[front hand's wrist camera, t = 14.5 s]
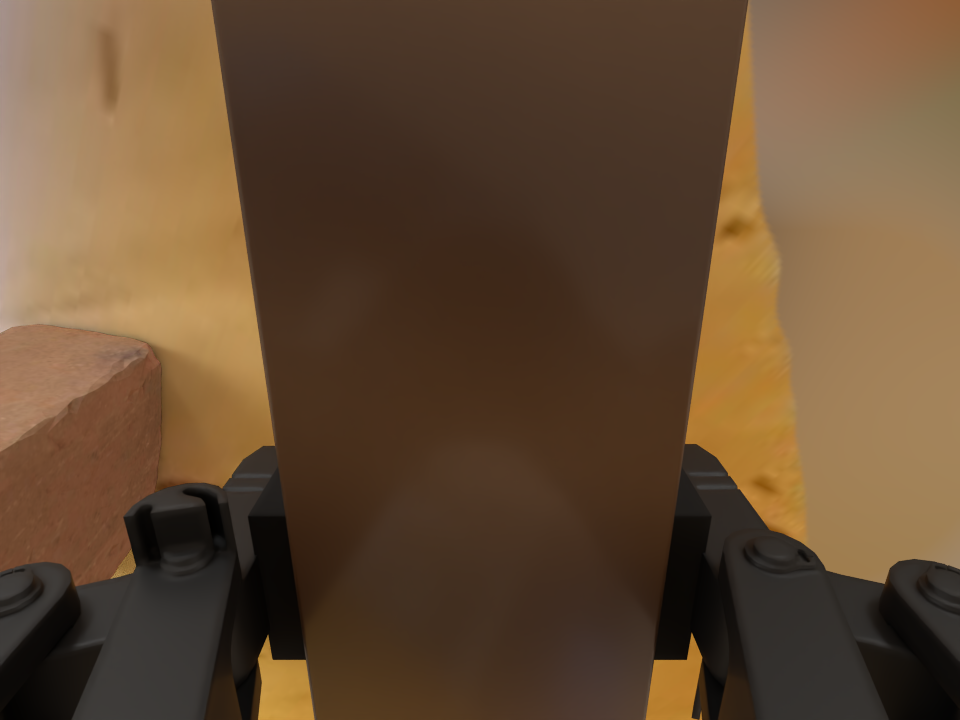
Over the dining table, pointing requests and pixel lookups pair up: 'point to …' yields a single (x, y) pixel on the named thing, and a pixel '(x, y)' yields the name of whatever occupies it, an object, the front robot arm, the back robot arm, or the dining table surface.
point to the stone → (74, 446)
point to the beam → (479, 331)
